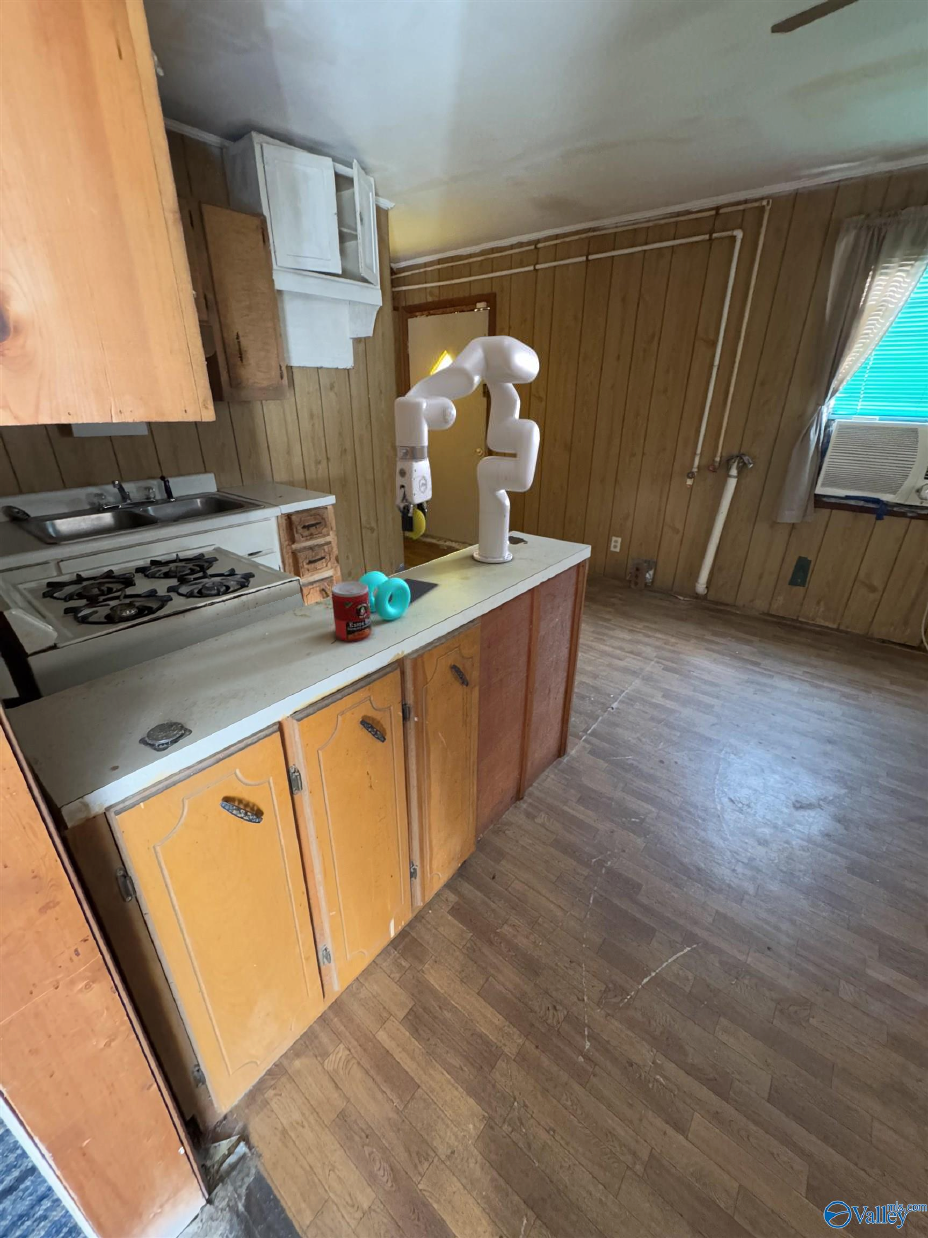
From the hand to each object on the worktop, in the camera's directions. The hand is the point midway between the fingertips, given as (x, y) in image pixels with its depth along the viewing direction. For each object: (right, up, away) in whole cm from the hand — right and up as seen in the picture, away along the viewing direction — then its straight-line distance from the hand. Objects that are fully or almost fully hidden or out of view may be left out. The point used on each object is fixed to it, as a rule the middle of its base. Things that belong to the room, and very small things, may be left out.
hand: (414, 527), depth 126 cm
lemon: (0, -3, +1) cm, 3 cm away
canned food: (-12, -27, -16) cm, 33 cm away
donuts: (-7, -22, -6) cm, 24 cm away
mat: (-3, -16, +7) cm, 18 cm away
